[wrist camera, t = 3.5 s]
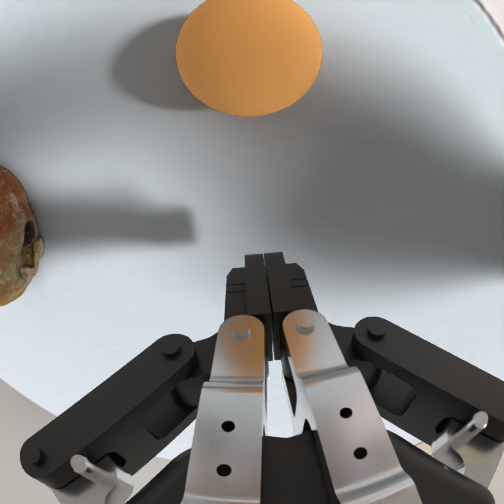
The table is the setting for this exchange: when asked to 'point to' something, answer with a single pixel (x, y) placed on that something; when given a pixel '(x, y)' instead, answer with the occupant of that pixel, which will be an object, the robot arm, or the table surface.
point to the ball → (249, 55)
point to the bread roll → (16, 239)
